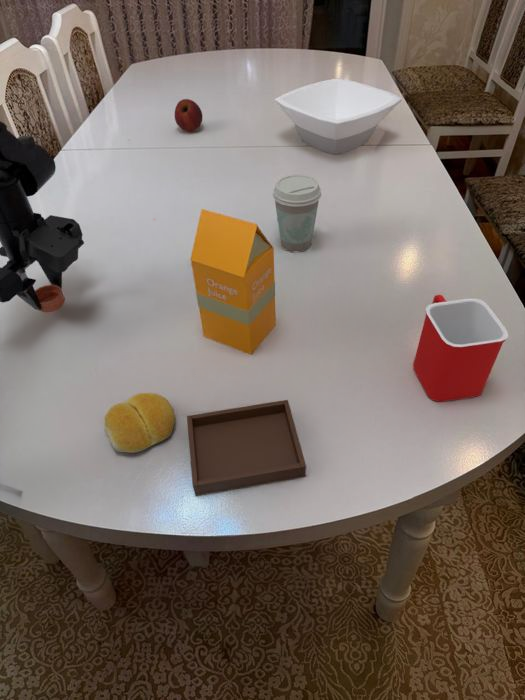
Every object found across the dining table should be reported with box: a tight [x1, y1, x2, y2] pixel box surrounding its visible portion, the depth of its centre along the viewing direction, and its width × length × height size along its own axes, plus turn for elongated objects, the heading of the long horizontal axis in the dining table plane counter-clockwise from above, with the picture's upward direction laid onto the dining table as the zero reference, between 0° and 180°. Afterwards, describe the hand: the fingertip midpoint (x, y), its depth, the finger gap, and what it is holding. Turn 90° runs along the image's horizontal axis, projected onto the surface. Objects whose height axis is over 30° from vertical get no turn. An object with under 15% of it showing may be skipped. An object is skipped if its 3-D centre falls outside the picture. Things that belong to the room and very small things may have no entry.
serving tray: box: [186, 399, 307, 497], centre depth 61 cm, size 13×10×2 cm
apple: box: [174, 98, 203, 133], centre depth 133 cm, size 7×8×8 cm
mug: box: [412, 294, 510, 402], centre depth 67 cm, size 12×8×11 cm
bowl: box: [274, 77, 402, 155], centre depth 124 cm, size 24×25×10 cm
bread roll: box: [104, 392, 176, 454], centre depth 64 cm, size 8×9×4 cm
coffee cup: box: [272, 174, 322, 253], centre depth 90 cm, size 9×9×12 cm
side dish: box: [34, 284, 66, 314], centre depth 81 cm, size 5×5×2 cm
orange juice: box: [189, 208, 277, 356], centre depth 71 cm, size 8×9×20 cm
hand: (48, 299), depth 81 cm, fingers closed on side dish, 5 cm apart
